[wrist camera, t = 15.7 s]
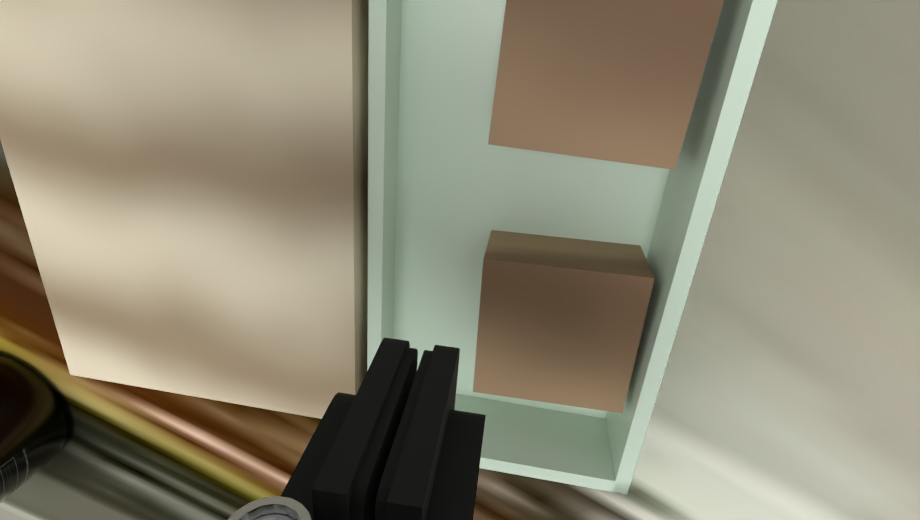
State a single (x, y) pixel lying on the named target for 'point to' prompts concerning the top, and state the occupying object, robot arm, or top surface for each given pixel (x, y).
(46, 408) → the supplement bottle
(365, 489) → the robot arm
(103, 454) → the top surface
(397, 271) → the tray
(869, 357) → the top surface
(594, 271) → the walnut tile
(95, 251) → the maple board
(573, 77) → the walnut tile
